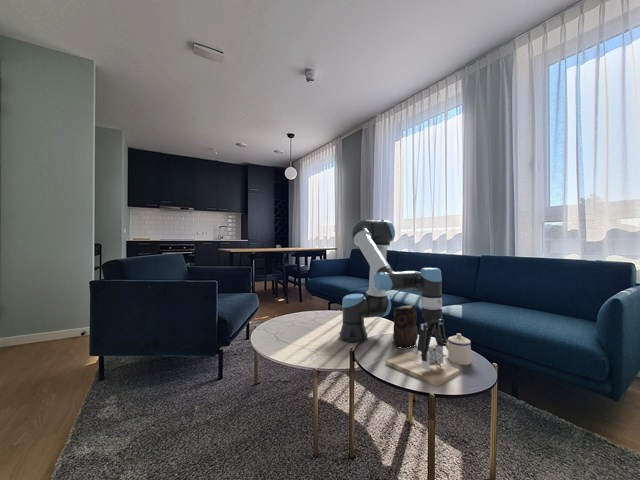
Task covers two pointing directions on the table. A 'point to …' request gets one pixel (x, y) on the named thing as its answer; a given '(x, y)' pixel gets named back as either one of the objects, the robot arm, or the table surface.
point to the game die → (435, 355)
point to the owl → (405, 326)
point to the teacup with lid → (459, 349)
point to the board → (413, 366)
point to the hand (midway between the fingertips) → (432, 365)
